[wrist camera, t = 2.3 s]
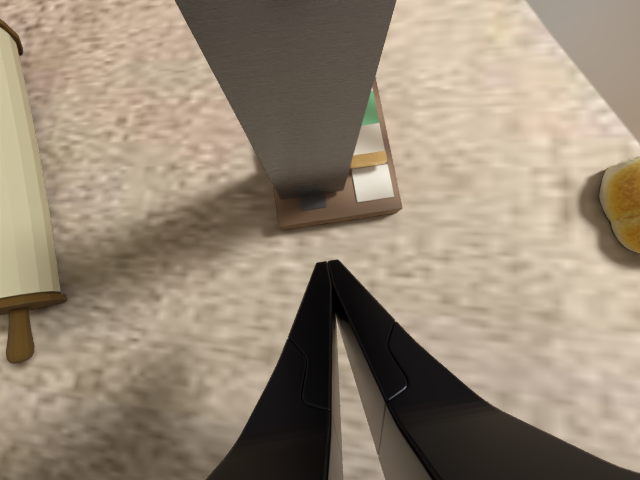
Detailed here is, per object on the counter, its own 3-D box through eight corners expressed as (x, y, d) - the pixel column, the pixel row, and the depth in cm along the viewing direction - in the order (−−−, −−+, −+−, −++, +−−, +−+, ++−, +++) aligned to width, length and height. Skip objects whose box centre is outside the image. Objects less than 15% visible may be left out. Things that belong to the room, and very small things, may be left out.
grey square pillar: (388, 183, 19) (889, -483, 2) (280, 199, 19) (-32, -390, 2) (379, 137, 20) (728, -678, 3) (274, 152, 20) (-16, -616, 3)
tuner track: (396, 212, 21) (403, 207, 19) (281, 230, 21) (278, 226, 19) (371, 88, 23) (375, 74, 21) (264, 103, 23) (260, 90, 21)
